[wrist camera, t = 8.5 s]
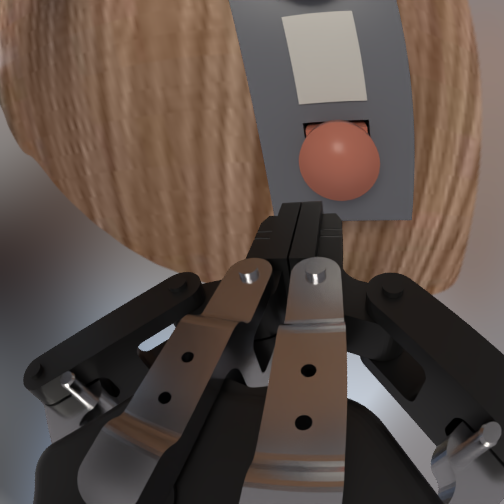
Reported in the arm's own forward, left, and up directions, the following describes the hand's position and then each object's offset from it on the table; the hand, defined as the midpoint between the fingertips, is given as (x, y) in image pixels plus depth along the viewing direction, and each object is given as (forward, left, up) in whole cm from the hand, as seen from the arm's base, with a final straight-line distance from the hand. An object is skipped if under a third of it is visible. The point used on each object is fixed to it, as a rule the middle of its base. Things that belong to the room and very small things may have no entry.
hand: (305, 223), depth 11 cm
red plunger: (+1, +1, -17) cm, 17 cm away
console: (-7, +1, -19) cm, 20 cm away
